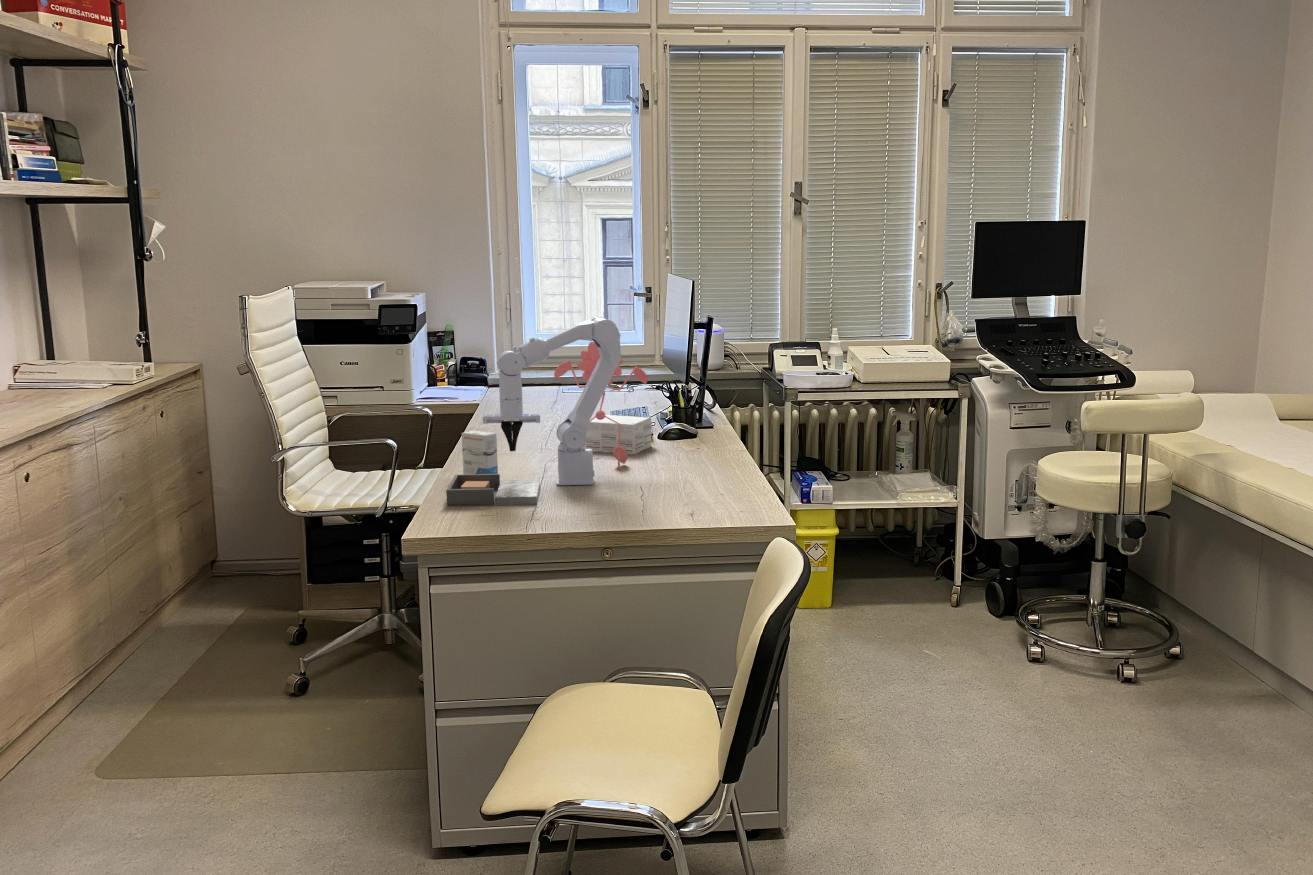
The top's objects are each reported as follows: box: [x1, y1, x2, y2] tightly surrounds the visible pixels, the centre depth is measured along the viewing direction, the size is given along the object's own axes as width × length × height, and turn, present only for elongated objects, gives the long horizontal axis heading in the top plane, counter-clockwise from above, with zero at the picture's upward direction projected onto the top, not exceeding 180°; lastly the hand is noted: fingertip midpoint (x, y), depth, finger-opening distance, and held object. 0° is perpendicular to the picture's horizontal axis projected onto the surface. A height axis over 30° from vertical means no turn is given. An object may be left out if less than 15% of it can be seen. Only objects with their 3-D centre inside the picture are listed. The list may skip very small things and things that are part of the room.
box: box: [445, 473, 501, 507], centre depth 250 cm, size 11×16×4 cm
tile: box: [461, 481, 490, 489], centre depth 252 cm, size 6×6×2 cm
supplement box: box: [585, 414, 652, 455], centre depth 307 cm, size 17×13×9 cm
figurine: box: [553, 341, 649, 470], centre depth 283 cm, size 15×26×35 cm, turn 95°
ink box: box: [461, 430, 499, 474], centre depth 273 cm, size 8×5×12 cm, turn 59°
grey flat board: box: [494, 480, 541, 506], centre depth 251 cm, size 10×16×2 cm, turn 3°
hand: (512, 450), depth 260 cm, fingers closed
